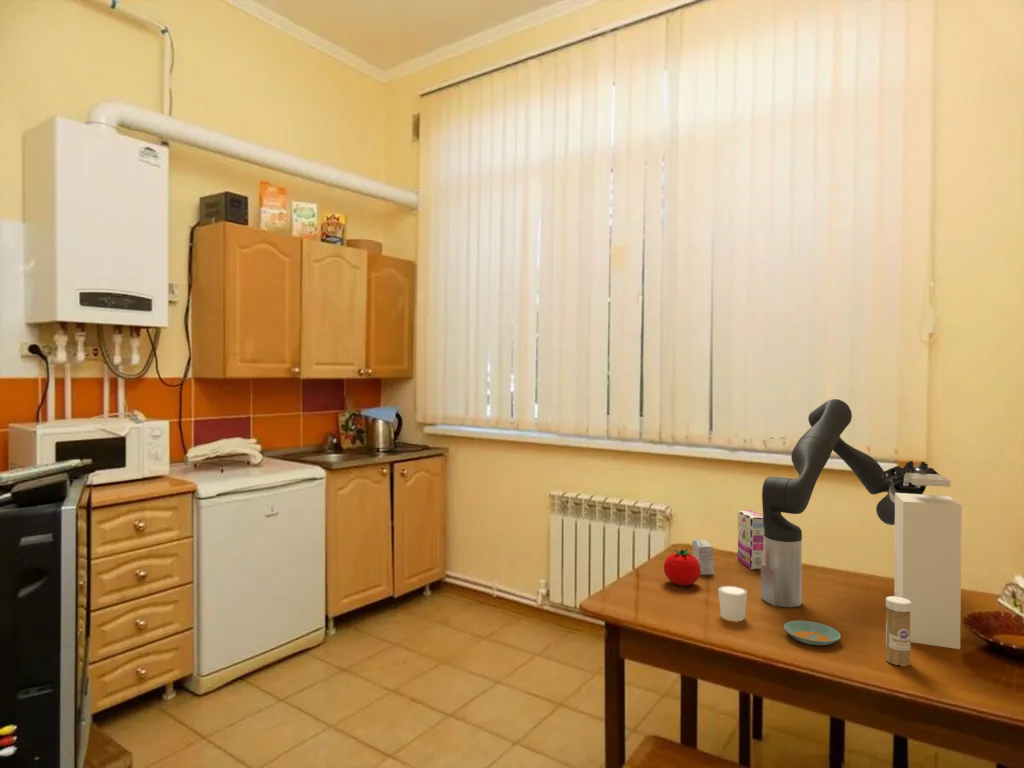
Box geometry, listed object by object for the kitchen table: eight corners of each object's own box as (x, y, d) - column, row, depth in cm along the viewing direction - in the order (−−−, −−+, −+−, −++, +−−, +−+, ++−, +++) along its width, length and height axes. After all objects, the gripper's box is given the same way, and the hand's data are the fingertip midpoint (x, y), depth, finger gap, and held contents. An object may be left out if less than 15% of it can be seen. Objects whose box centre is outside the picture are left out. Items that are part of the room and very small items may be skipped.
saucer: (791, 625, 151) (791, 615, 151) (845, 638, 143) (845, 628, 143) (777, 641, 142) (777, 631, 142) (834, 656, 134) (834, 646, 134)
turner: (950, 487, 137) (950, 478, 137) (913, 484, 140) (913, 475, 140) (929, 472, 157) (929, 465, 157) (897, 471, 159) (897, 463, 159)
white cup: (717, 621, 153) (717, 592, 153) (718, 610, 159) (718, 583, 159) (747, 624, 151) (747, 596, 151) (747, 614, 157) (747, 586, 157)
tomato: (657, 585, 179) (657, 550, 179) (673, 576, 187) (673, 543, 187) (691, 593, 172) (691, 557, 172) (706, 583, 180) (706, 549, 180)
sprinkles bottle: (897, 668, 128) (897, 604, 128) (880, 658, 133) (880, 596, 132) (916, 666, 129) (916, 602, 129) (898, 656, 134) (898, 594, 133)
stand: (960, 649, 137) (961, 505, 136) (902, 640, 141) (903, 501, 141) (947, 630, 147) (949, 496, 146) (894, 622, 151) (894, 492, 151)
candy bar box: (766, 570, 192) (766, 517, 191) (750, 570, 192) (750, 518, 191) (752, 559, 203) (752, 509, 202) (737, 559, 203) (737, 509, 202)
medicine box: (713, 575, 188) (713, 546, 187) (699, 575, 188) (699, 546, 188) (706, 567, 195) (706, 539, 195) (692, 567, 196) (692, 539, 195)
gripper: (875, 474, 171) (884, 449, 157) (935, 477, 166) (949, 452, 152) (877, 500, 168) (886, 477, 154) (938, 504, 162) (953, 481, 148)
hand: (917, 464), depth 153 cm, fingers closed on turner, 2 cm apart
